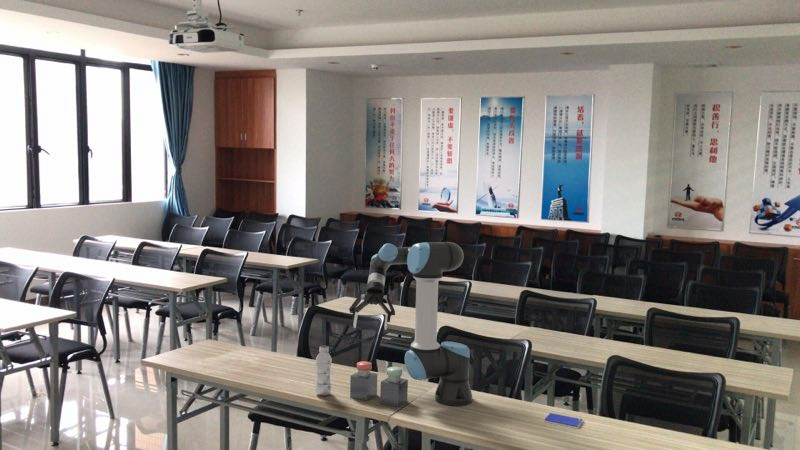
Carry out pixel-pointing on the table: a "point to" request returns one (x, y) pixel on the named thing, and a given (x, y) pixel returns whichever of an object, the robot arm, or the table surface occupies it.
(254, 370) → the table surface
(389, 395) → the green button post
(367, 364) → the red button
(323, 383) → the plastic bottle
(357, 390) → the red button post
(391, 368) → the green button
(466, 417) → the table surface
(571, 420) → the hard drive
